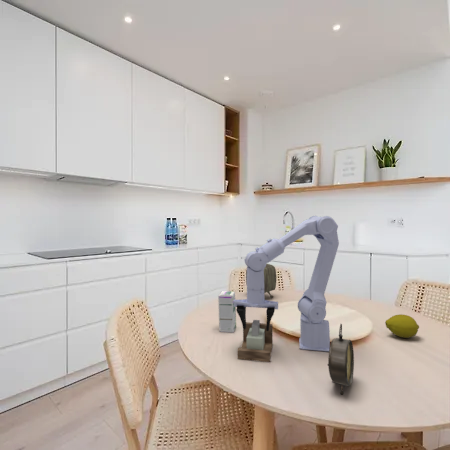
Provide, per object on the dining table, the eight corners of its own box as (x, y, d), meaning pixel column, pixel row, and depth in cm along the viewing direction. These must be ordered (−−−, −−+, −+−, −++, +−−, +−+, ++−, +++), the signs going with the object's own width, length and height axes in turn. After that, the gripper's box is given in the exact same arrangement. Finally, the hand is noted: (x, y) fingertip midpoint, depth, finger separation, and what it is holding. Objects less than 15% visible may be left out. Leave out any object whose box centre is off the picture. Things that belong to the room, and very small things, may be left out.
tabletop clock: (276, 298, 154) (276, 251, 153) (265, 302, 147) (265, 253, 146) (255, 293, 164) (255, 249, 163) (244, 296, 158) (244, 250, 157)
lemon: (416, 334, 107) (416, 312, 106) (423, 343, 99) (423, 320, 99) (383, 330, 110) (383, 310, 110) (387, 339, 103) (387, 317, 102)
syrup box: (233, 332, 111) (233, 295, 110) (218, 331, 112) (218, 294, 111) (236, 327, 116) (235, 291, 116) (221, 326, 117) (221, 290, 117)
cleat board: (272, 343, 101) (272, 324, 100) (269, 362, 89) (269, 339, 88) (244, 341, 103) (243, 322, 103) (237, 358, 91) (237, 336, 91)
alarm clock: (348, 399, 70) (348, 333, 70) (325, 392, 73) (324, 329, 73) (355, 377, 80) (355, 318, 79) (334, 372, 83) (334, 315, 82)
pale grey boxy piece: (264, 343, 100) (264, 318, 99) (262, 354, 92) (262, 327, 91) (250, 342, 101) (249, 317, 100) (246, 353, 93) (246, 326, 93)
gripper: (231, 290, 94) (232, 332, 94) (277, 292, 90) (277, 335, 91) (235, 285, 100) (236, 323, 101) (278, 286, 97) (278, 326, 98)
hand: (256, 328), depth 96 cm, fingers open, 7 cm apart
